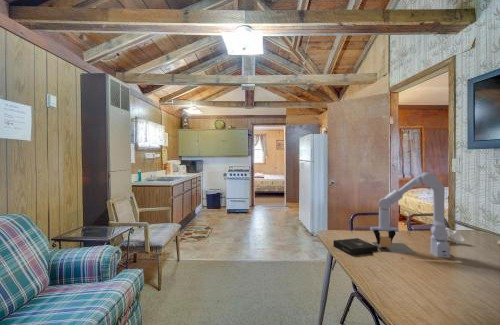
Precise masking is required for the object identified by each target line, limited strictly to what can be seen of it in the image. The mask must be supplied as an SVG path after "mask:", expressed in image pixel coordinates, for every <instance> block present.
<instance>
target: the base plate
mask: <svg viewBox="0 0 500 325" xmlns="http://www.w3.org/2000/svg"><path fill="white" fill-rule="evenodd" d="M371 244H373V245H375V246H377V247H378V251H379V252H381V253H397V254H398V253H399V254H417V252H416V251H414V250H413V249H412V248H410V247H409V246H408V245H406V244H405V243H404V242H402V243H401V242H392V243H391V247H380V246H379V245H378V244H377V241H372V242H371Z"/></svg>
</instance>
